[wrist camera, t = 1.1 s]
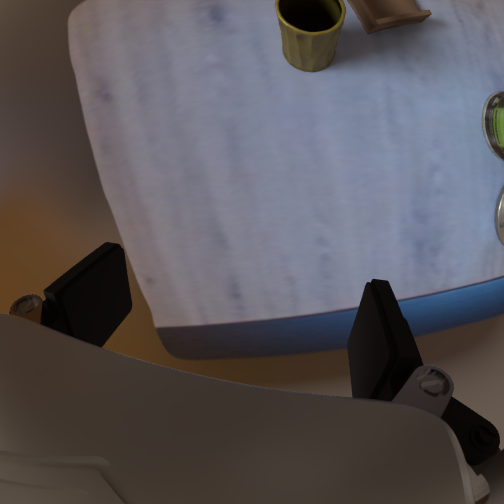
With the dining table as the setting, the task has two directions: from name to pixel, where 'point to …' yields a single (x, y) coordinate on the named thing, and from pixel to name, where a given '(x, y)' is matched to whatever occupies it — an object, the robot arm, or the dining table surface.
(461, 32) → the dining table surface
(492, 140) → the coffee can
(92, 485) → the robot arm
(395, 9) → the wooden compartment tray
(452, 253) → the dining table surface
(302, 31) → the vase
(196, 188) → the dining table surface
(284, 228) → the dining table surface
